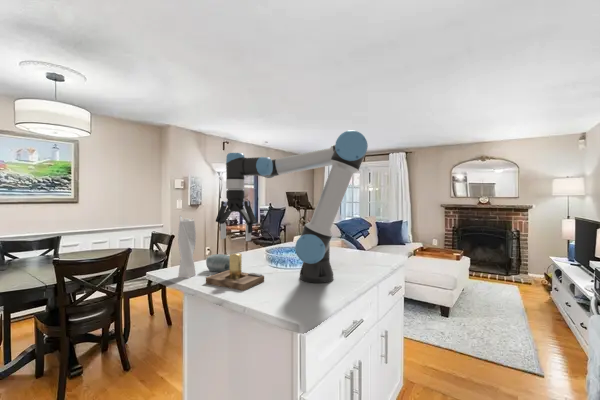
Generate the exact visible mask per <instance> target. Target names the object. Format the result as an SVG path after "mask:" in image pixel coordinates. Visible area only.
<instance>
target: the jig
mask: <svg viewBox="0 0 600 400" xmlns="http://www.w3.org/2000/svg"><path fill="white" fill-rule="evenodd" d="M264 282H265V275H264V274H262V273H254V272H245V271H243V272H242V278H240V279H230V270H227V271H224V272H217V273H216V274H212V275H210V276H206V277H205V284H206V285H207V284H208V285H213V286H218V287H223V288H228V289H233V290H237V291H247V290H248V289H251V288H253V287H255V286H257V285H259V284H261V283H264Z"/></svg>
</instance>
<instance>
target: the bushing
mask: <svg viewBox="0 0 600 400" xmlns="http://www.w3.org/2000/svg"><path fill="white" fill-rule="evenodd" d="M229 256H230V279H240V278H242V271H243V270H242V267H243V266H242V263H243V262H242V261H243V260H242V259H243V257H242V253H239V252H235V253H229Z"/></svg>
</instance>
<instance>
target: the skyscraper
mask: <svg viewBox="0 0 600 400" xmlns="http://www.w3.org/2000/svg"><path fill="white" fill-rule="evenodd" d="M195 222H196V221H195V219H194V218H183V217H182V215H179V224H178V233H177V241H178V242H177V243H178V251H179V254H180V261H179V269H178V275H177V276H178V278H184V279H190V278H192V277H194V276H196V268H195V266H196V265H195V261H194V252H195V249H196V248H195V247H196V239H197V232H196V223H195Z"/></svg>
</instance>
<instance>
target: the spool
mask: <svg viewBox="0 0 600 400" xmlns="http://www.w3.org/2000/svg"><path fill="white" fill-rule="evenodd" d="M205 263H206V268H207V269H208V270H209V271H210V272H217V273H221V272H224V271H227V270H230V254H229V255H228V254H220V253H219V254H211V255H208V257H207V258H206V260H205Z"/></svg>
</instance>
